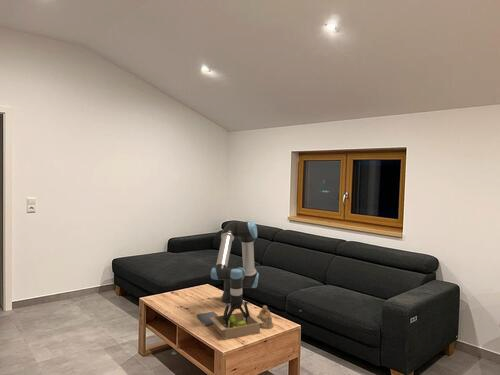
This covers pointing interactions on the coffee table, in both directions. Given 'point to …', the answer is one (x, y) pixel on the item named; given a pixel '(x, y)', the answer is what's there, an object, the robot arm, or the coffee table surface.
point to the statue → (265, 318)
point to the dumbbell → (235, 323)
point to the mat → (206, 318)
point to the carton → (237, 331)
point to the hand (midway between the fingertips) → (236, 329)
